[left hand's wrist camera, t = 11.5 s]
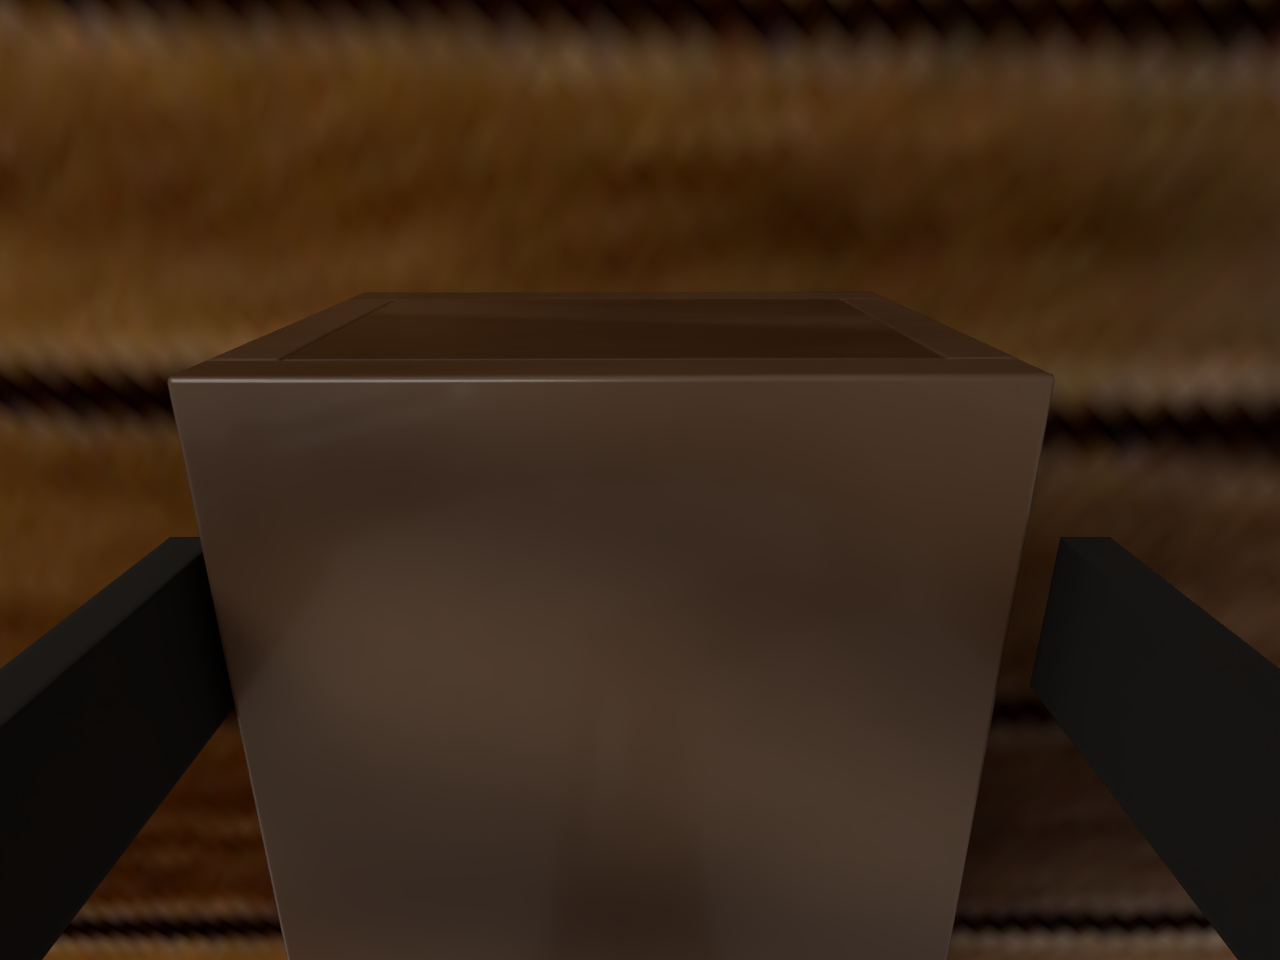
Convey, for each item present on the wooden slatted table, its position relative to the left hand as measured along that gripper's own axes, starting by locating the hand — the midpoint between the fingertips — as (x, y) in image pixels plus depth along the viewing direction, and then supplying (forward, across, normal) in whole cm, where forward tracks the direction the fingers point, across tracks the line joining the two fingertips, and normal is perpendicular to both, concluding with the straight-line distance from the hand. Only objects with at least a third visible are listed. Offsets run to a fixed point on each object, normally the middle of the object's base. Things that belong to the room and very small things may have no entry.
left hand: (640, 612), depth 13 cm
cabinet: (+7, 0, -6) cm, 9 cm away
